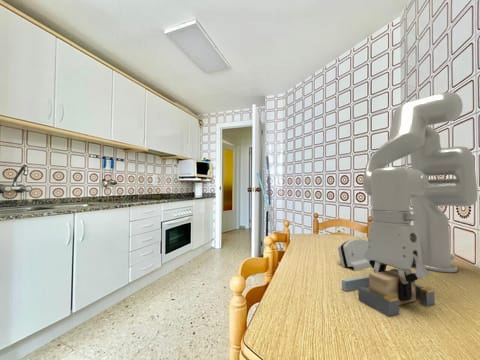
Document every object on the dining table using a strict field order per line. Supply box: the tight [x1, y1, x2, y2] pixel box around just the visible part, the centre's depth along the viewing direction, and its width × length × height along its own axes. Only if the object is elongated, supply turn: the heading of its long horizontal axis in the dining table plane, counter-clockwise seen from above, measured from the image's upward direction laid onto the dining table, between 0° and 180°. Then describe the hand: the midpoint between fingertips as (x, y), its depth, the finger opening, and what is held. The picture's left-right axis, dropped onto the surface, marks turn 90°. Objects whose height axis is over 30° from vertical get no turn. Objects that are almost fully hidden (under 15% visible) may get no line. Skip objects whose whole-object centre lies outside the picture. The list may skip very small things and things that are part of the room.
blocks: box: [357, 283, 436, 318], centre depth 49 cm, size 15×7×3 cm, turn 110°
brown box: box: [368, 268, 417, 306], centre depth 49 cm, size 10×4×6 cm, turn 110°
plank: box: [341, 274, 369, 292], centre depth 57 cm, size 14×1×2 cm, turn 110°
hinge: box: [337, 238, 373, 272], centre depth 76 cm, size 17×5×10 cm, turn 119°
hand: (393, 294), depth 49 cm, fingers open, 4 cm apart
